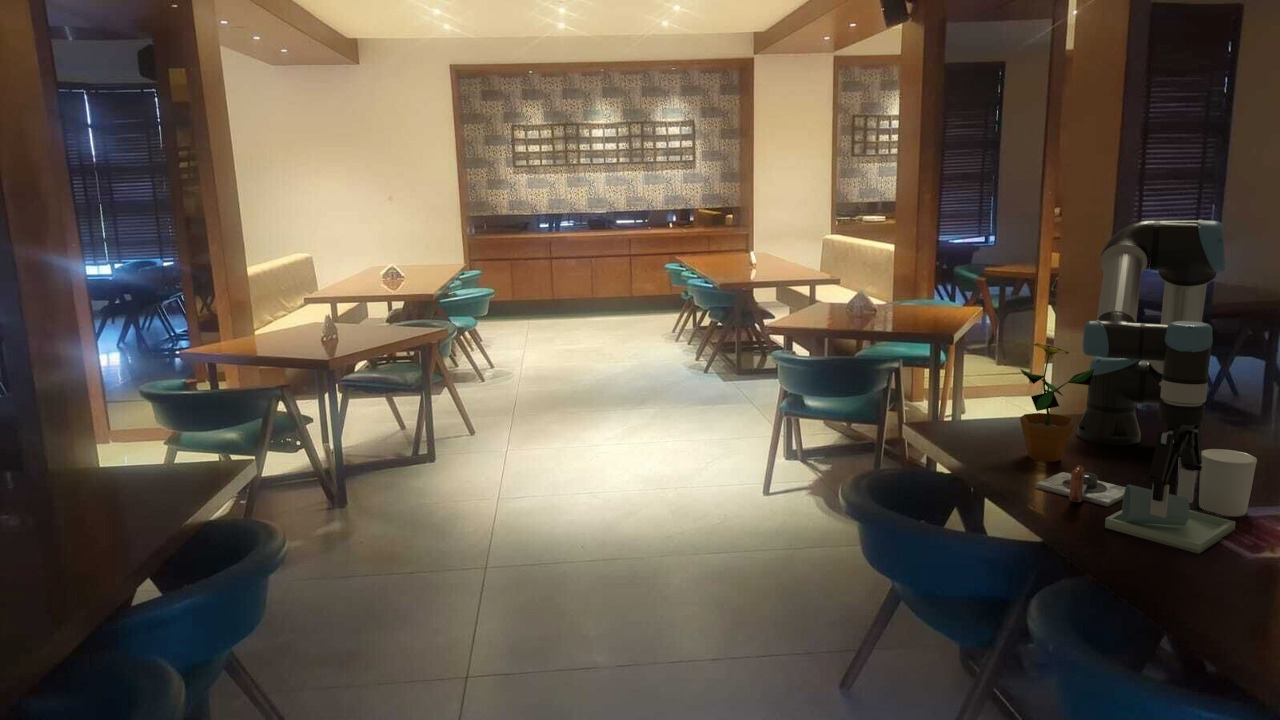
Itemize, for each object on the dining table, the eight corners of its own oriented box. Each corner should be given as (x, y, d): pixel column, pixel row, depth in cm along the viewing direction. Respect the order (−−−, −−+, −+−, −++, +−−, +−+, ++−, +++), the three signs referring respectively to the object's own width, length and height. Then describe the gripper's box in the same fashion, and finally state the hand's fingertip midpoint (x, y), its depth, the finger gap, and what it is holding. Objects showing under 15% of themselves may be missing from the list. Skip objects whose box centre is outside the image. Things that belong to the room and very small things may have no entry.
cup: (1187, 536, 166) (1126, 527, 169) (1178, 525, 173) (1120, 516, 176) (1193, 498, 165) (1132, 489, 168) (1184, 488, 172) (1125, 480, 175)
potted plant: (1068, 474, 205) (1077, 351, 199) (992, 457, 219) (999, 341, 213) (1098, 457, 217) (1108, 340, 211) (1025, 442, 230) (1032, 332, 225)
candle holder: (1252, 522, 174) (1258, 465, 172) (1194, 513, 179) (1200, 459, 177) (1249, 506, 182) (1255, 452, 180) (1194, 499, 187) (1199, 446, 185)
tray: (1143, 508, 183) (1144, 498, 182) (1234, 532, 170) (1235, 521, 169) (1104, 528, 173) (1105, 518, 172) (1198, 555, 160) (1199, 544, 159)
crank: (1074, 480, 197) (1076, 450, 195) (1098, 484, 194) (1101, 453, 193) (1060, 502, 184) (1062, 470, 182) (1085, 506, 181) (1088, 474, 179)
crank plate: (1062, 476, 204) (1062, 471, 203) (1133, 494, 191) (1134, 488, 191) (1035, 488, 196) (1036, 482, 196) (1107, 507, 184) (1108, 501, 184)
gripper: (1186, 388, 176) (1176, 489, 180) (1133, 408, 162) (1123, 517, 166) (1228, 395, 170) (1217, 498, 174) (1176, 416, 156) (1165, 528, 160)
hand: (1171, 508), depth 170 cm, fingers open, 11 cm apart
